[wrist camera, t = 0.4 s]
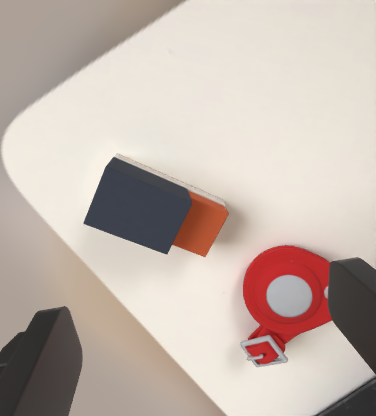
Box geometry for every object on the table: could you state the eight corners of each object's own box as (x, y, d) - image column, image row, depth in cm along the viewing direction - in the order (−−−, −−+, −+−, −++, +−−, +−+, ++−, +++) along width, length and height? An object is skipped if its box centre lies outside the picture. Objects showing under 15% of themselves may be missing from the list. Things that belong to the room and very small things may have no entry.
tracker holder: (237, 251, 25) (361, 250, 24) (236, 239, 30) (341, 238, 28) (241, 380, 27) (358, 387, 25) (240, 351, 31) (340, 355, 30)
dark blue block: (97, 200, 24) (83, 224, 19) (116, 153, 23) (105, 166, 18) (201, 240, 26) (210, 271, 21) (222, 199, 25) (238, 222, 20)
